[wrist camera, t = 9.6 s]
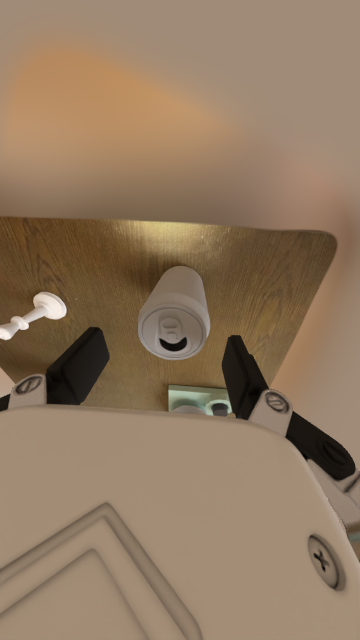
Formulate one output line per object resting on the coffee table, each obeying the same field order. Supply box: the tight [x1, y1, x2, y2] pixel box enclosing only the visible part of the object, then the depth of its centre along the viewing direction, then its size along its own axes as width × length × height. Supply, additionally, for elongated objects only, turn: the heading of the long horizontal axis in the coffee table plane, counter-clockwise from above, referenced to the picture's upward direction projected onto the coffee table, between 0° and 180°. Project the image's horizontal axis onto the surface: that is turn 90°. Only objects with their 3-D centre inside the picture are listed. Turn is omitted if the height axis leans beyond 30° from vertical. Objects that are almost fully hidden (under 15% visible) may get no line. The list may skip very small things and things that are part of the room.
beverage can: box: [138, 266, 210, 360], centre depth 17 cm, size 6×6×12 cm
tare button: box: [212, 403, 228, 417], centre depth 33 cm, size 3×3×2 cm
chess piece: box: [0, 292, 66, 340], centre depth 22 cm, size 5×5×10 cm
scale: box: [168, 385, 232, 416], centre depth 36 cm, size 14×12×3 cm
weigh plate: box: [171, 405, 207, 415], centre depth 36 cm, size 9×9×1 cm
